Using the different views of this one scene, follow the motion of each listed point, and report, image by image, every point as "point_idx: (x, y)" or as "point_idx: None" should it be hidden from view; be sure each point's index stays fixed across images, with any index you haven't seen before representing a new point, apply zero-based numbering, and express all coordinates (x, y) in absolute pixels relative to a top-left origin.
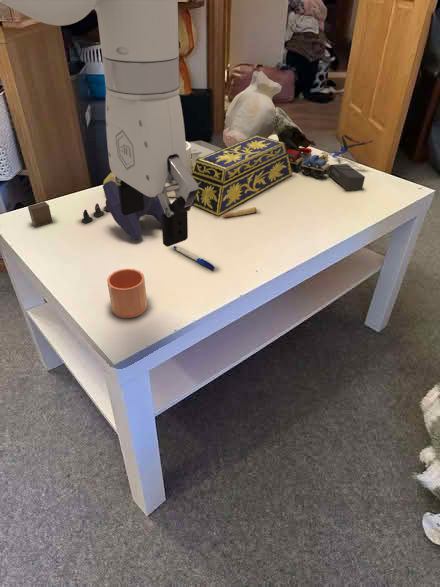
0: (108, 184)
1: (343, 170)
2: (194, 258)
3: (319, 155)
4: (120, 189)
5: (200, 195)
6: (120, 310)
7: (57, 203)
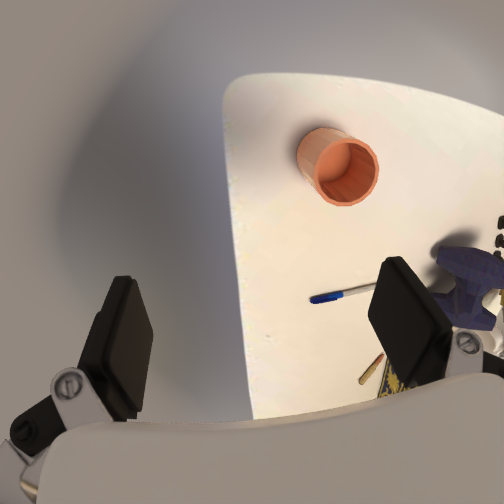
0: None
1: None
2: (347, 292)
3: None
4: (435, 322)
5: None
6: (314, 133)
7: None
